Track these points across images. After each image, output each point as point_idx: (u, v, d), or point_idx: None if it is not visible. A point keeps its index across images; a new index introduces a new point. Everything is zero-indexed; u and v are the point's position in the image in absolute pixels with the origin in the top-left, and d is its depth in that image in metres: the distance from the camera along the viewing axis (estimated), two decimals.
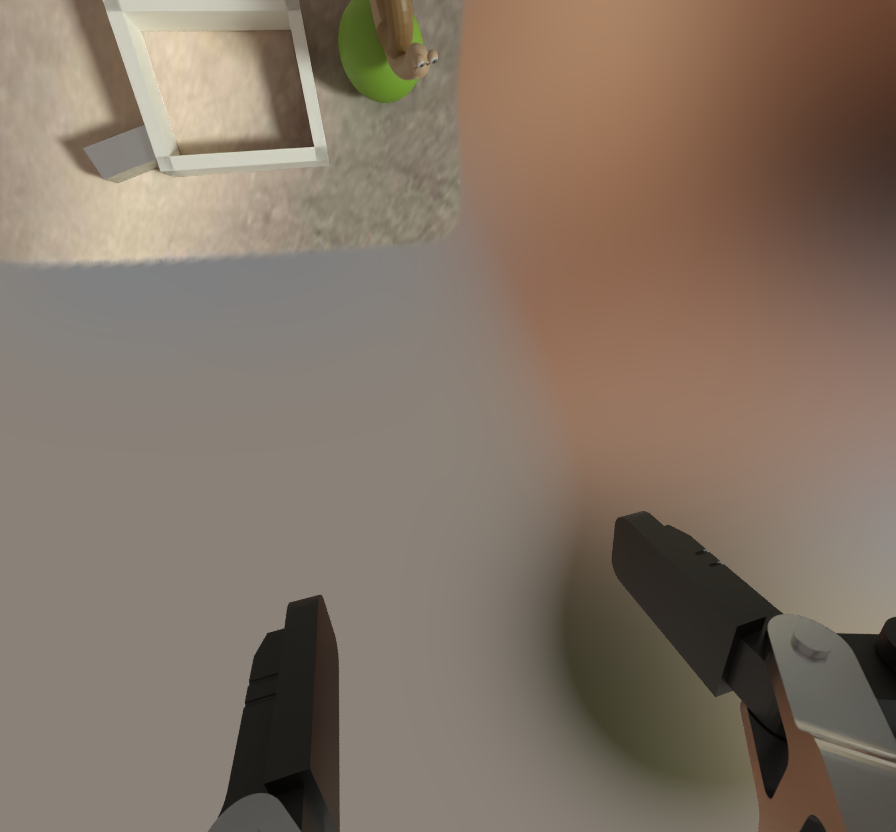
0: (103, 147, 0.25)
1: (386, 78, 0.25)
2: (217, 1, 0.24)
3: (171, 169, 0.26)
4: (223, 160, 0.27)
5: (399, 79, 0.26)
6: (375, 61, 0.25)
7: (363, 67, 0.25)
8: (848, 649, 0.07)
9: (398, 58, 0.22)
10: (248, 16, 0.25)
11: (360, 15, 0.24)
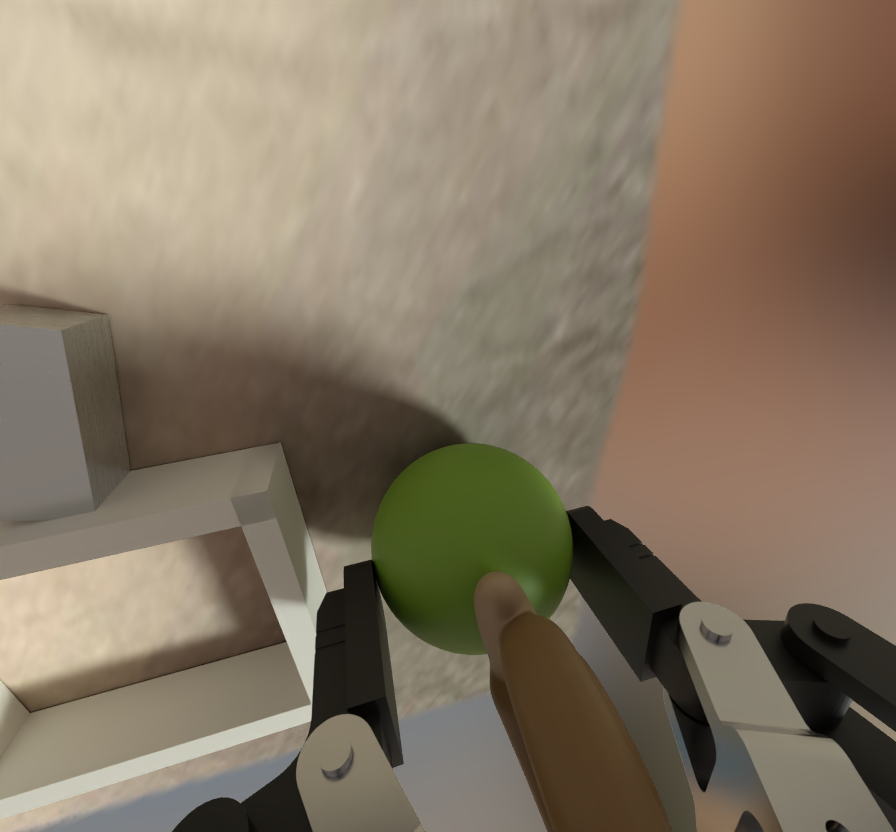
0: None
1: None
2: (46, 553, 0.09)
3: None
4: (103, 778, 0.12)
5: None
6: (470, 654, 0.10)
7: None
8: (751, 633, 0.07)
9: None
10: None
11: (441, 595, 0.09)
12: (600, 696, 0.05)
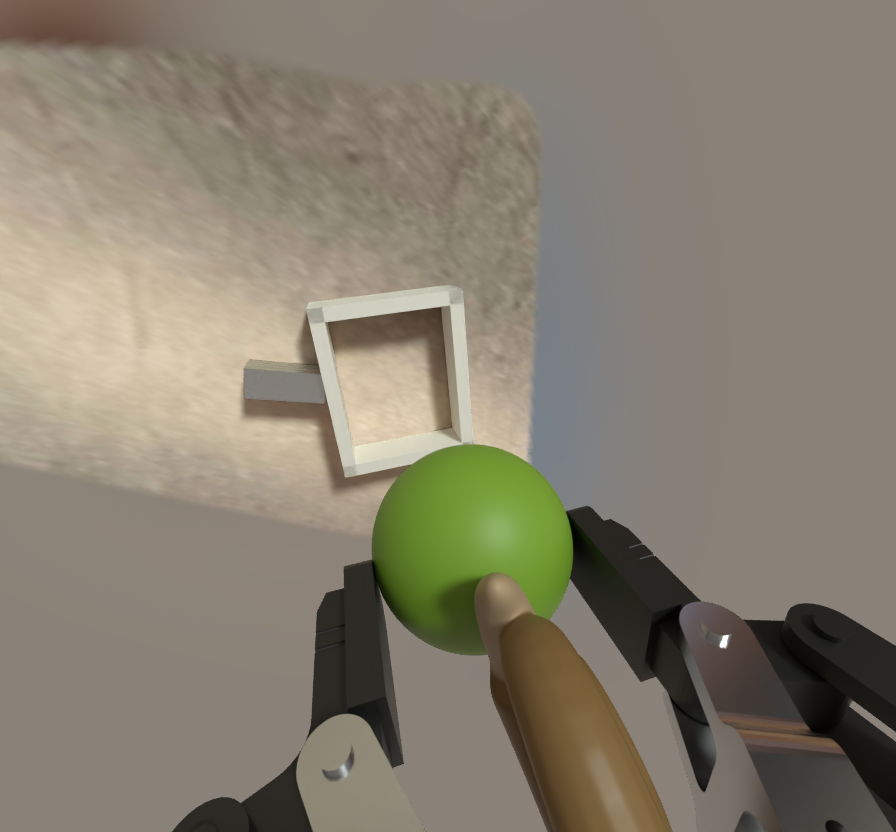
0: None
1: None
2: (331, 389, 0.23)
3: (472, 442, 0.27)
4: (464, 399, 0.26)
5: None
6: (470, 654, 0.10)
7: (437, 647, 0.10)
8: (750, 633, 0.07)
9: None
10: (333, 360, 0.23)
11: (442, 596, 0.09)
12: (600, 697, 0.05)
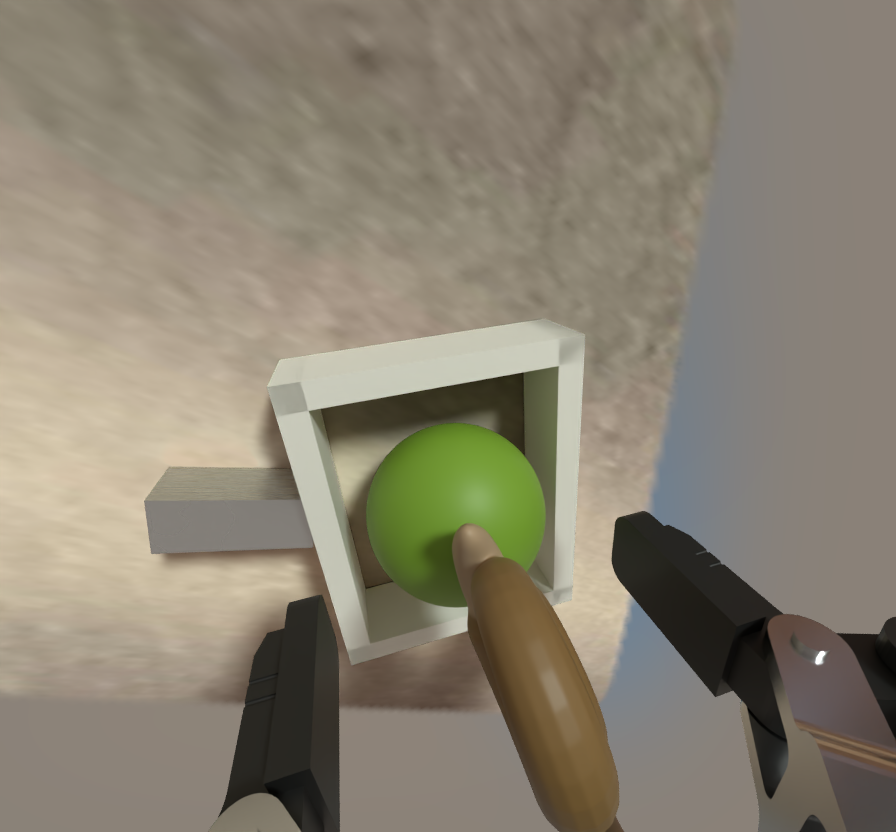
0: None
1: None
2: (325, 531, 0.12)
3: (570, 588, 0.16)
4: (566, 524, 0.14)
5: None
6: (453, 605, 0.11)
7: (424, 600, 0.11)
8: (848, 649, 0.07)
9: None
10: (329, 474, 0.12)
11: (425, 549, 0.10)
12: (544, 607, 0.07)
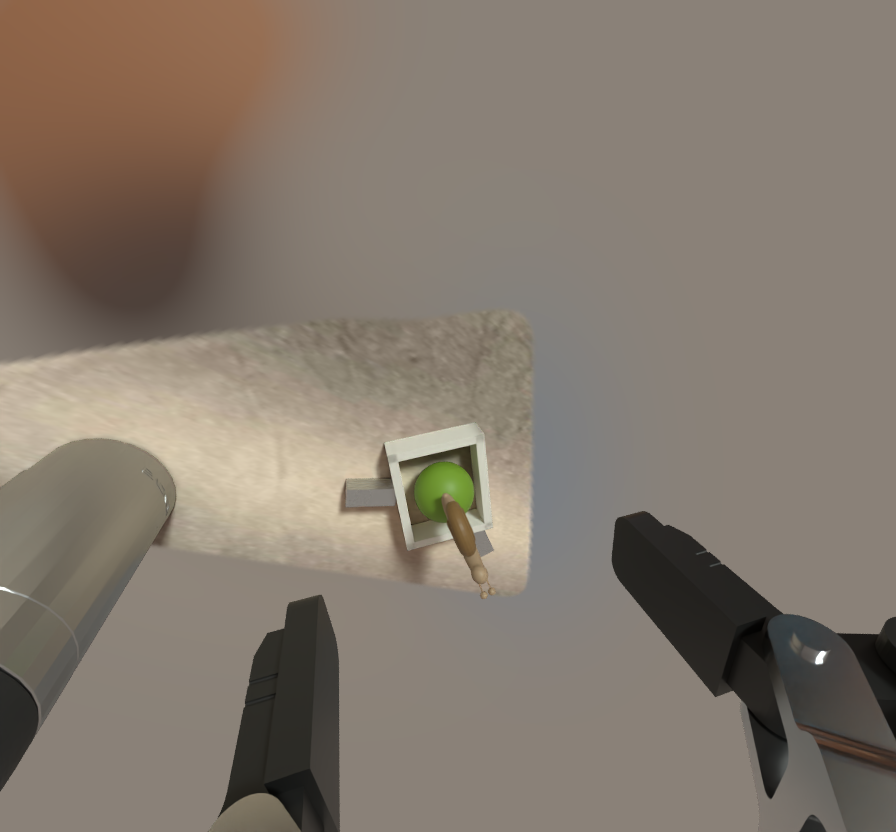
0: (477, 549, 0.42)
1: None
2: (401, 499, 0.36)
3: (491, 522, 0.40)
4: (486, 496, 0.38)
5: None
6: (443, 520, 0.35)
7: (434, 520, 0.35)
8: (848, 649, 0.07)
9: None
10: None
11: (434, 502, 0.34)
12: (460, 508, 0.31)
